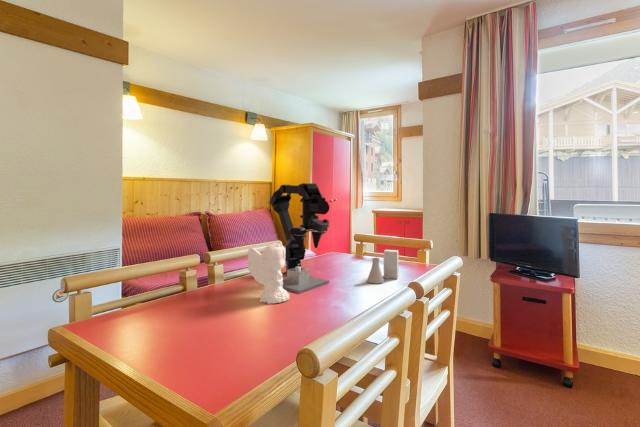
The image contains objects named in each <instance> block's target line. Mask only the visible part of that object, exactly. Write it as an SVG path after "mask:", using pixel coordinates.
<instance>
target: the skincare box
mask: <svg viewBox="0 0 640 427" xmlns="http://www.w3.org/2000/svg"><path fill="white" fill-rule="evenodd" d="M399 254H400V252H399V250H398V249H384V251H383V279H394V280H398V279H399V277H400V274H399V263H400V262H399V261H400V260H399V256H400V255H399Z"/></svg>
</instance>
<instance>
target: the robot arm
mask: <svg viewBox="0 0 640 427" xmlns="http://www.w3.org/2000/svg"><path fill="white" fill-rule="evenodd" d="M283 194H284V195H283ZM292 194H296V195H298V196H300V197H301V198H300V200H299V202H300V203H302V205H301V206H302V207H301V208H302V213H301V215H300V216H299V217H300V219H301V220H302V221H301V222H302V224H300V226H294V224H293V222H292V219H291V215H290V212H289V208H290V201H291V199H292ZM269 203H270V205H271V207H272V209H273V211H274V212H276V213H277V214H278V217H279V220H280V223H281V227H282V230H283V234H284V236H285V239H286V240H285V241H286V243H285V246H284V247H285V249H286V250H285V251H286V253H285V257H286V258H285V265H286V266H285V268H286V270H285V271H283V274H286V275H287V270H288V269H291V268H295V267H296V266H300V267H301V268H302V263H301V261H302V260H303V261H304V260H305V254H306V251H307V250H306V246H305V238H306V237H307V235H306V234H307V232H308V233H309V232H311V236H312V242H313V246H314V248H315V249H317V248H318V246H319V243H320V241H321V238H322V236H323V235H324V234H326V232H327V231H328V228H329V227H330V221H329V220H330V219H328V218H324V219H323V220H322V219H319V215H322V216H323V215H327V214H328V213H329V211H330V204H329V202H328V201H327V200H326V197H323V194H322V193H321V191H320V188H319V187H318V184H317V183H314V182H313V183H311V182H310V183H308V182H307V183H306V182H305V183H304V182H303V183H300V184H298V185H295V184H281V185H280V186H279V188H278V189H276V191H274V192H273V194H272V195H271V197H270V199H269Z"/></svg>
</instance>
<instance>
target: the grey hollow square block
mask: <svg viewBox="0 0 640 427" xmlns="http://www.w3.org/2000/svg"><path fill="white" fill-rule="evenodd" d="M286 276H287V282H291V283H295V284H302V283H305V282H308V281H309V276H310V268H307V267H306V268H305V267H301V271H296V269H295V268H291V269H288V270H287V274H286Z"/></svg>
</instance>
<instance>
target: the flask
mask: <svg viewBox="0 0 640 427" xmlns="http://www.w3.org/2000/svg"><path fill="white" fill-rule="evenodd" d="M371 260H372V265H371V269H370V272H369V274H368V277H367V279H366V282H368V284H383V283H384V282H385V278H384V275H383V274H382V271H381V267H380V260H381V258H380V257H372V258H371Z"/></svg>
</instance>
